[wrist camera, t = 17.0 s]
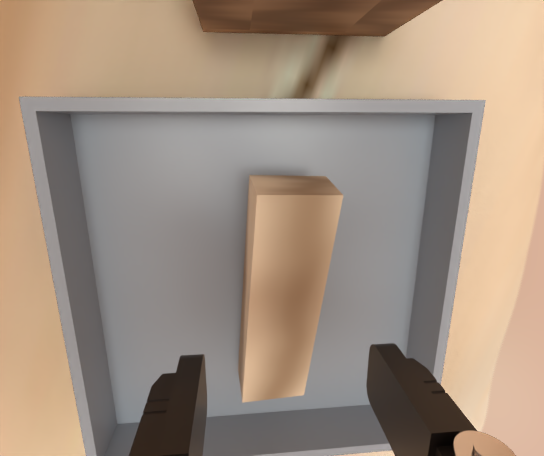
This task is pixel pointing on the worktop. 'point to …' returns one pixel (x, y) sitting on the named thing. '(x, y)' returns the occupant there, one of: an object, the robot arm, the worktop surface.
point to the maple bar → (284, 280)
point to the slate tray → (231, 251)
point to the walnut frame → (309, 16)
